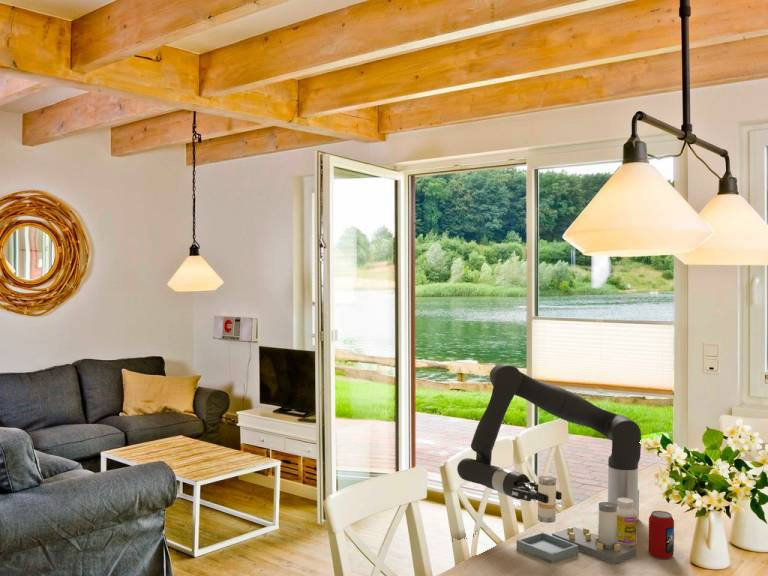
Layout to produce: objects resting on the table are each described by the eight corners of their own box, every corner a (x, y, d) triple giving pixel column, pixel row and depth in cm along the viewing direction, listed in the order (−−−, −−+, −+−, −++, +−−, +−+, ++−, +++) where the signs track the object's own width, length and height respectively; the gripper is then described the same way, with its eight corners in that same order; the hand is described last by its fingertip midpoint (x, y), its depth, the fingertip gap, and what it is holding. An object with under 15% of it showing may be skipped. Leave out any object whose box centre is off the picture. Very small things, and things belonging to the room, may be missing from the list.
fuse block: (573, 533, 225) (573, 521, 225) (635, 555, 207) (636, 543, 207) (552, 540, 219) (552, 528, 219) (614, 564, 201) (614, 551, 201)
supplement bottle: (623, 548, 213) (624, 504, 212) (608, 540, 219) (608, 498, 218) (641, 545, 215) (642, 501, 215) (625, 537, 221) (626, 495, 221)
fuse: (605, 541, 212) (605, 500, 212) (620, 547, 208) (620, 505, 208) (594, 545, 209) (595, 504, 209) (609, 551, 205) (609, 508, 205)
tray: (542, 540, 219) (542, 532, 219) (578, 554, 208) (578, 545, 208) (516, 548, 212) (516, 540, 212) (551, 563, 201) (551, 554, 201)
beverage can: (675, 561, 203) (676, 518, 203) (650, 559, 205) (650, 516, 204) (671, 552, 210) (671, 510, 210) (646, 550, 211) (647, 509, 211)
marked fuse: (545, 515, 213) (546, 474, 213) (559, 520, 209) (560, 479, 209) (533, 518, 210) (534, 477, 210) (547, 523, 206) (548, 481, 206)
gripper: (493, 474, 217) (537, 489, 203) (527, 467, 225) (571, 480, 212) (493, 499, 217) (536, 515, 203) (526, 491, 226) (570, 506, 212)
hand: (554, 497), depth 208 cm, fingers closed on marked fuse, 5 cm apart
